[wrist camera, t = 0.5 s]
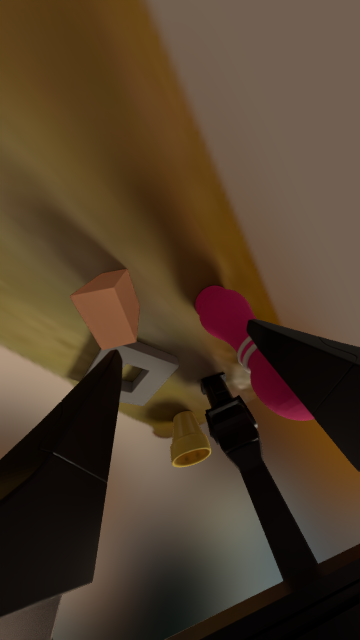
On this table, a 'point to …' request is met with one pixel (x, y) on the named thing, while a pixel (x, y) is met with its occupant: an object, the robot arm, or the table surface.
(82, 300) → the keyed peg
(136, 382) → the socket block
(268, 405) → the pink bowling pin
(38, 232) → the table surface
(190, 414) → the plant pot
